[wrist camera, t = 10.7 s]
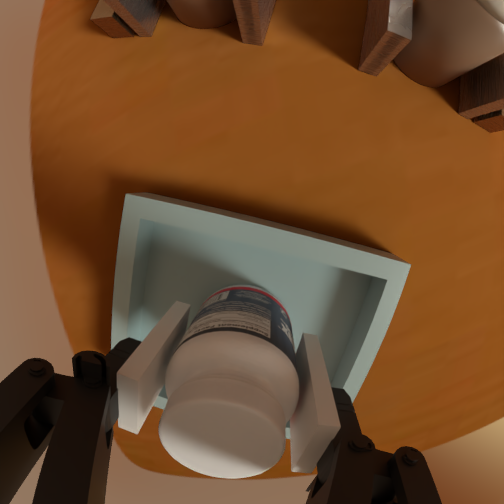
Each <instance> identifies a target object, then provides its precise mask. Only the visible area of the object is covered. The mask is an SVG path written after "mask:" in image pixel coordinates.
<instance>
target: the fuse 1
mask: <svg viewBox="0 0 504 504" xmlns="http://www.w3.org/2000/svg"><path fill="white" fill-rule="evenodd" d="M167 2H168V3H169V5H170V7H171V8H172V10H173V11H174V13H175V15H176V16H177V18H178V19H179V20H180V21H181V22H182V23H183V24H185V25H187V26H190V27H193V28H199V29H209V28H216V27H220V26H223V25H226V24H228V23H230V22H232V21H234V20H235V19H237V16H236V12H235V8H234V4H233V0H167Z"/></svg>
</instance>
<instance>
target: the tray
mask: <svg viewBox="0 0 504 504" xmlns="http://www.w3.org/2000/svg"><path fill="white" fill-rule="evenodd" d="M410 266H411V264H409V263H407V262H406V261H404V260H402V259H401V258H399V257H397V256H396V255H394V254H392V253H388V252H385V251H381V250H378V249H374V248H371V247H367V246H364V245H360V244H357V243H353V242H349V241H346V240H342V239H338V238H335V237H331V236H327V235H323V234H320V233H316V232H312V231H308V230H304V229H300V228H297V227H293V226H289V225H285V224H281V223H277V222H273V221H269V220H265V219H261V218H257V217H253V216H249V215H245V214H240V213H236V212H232V211H228V210H224V209H219V208H215V207H211V206H206V205H202V204H198V203H193V202H189V201H184V200H180V199H175V198H171V197H166V196H161V195H157V194H152V193H147V192H143V193H127V194H126V196H125V201H124V207H123V213H122V220H121V227H120V234H119V242H118V250H117V259H116V268H115V279H114V292H113V307H112V330H111V350H112V349H113V348H114V346H115V345H116V344H117V343H118V342H119V341H121V340H123V339H126V338H128V337H130V338H133V339H136V340H139V341H143V340H144V339H145V338H146V336H147V335H148V334H149V333H150V332H151V330H152V329H153V328H154V327H155V326H156V324H157V323H158V322H159V321H160V320H161V318H162V317H163V316H164V315H165V314H166V312H167V311H168V310H169V309H170V308H171V306H172V305H173V304H174V303H175V302H176V301H179V302H183V303H186V304H190V305H191V307H190V312H189V318H188V324H187V330H188V328H189V326H190V324H191V323H192V321H193V319H194V317H195V316H196V314H197V312H198V311H199V309H200V307H201V306H202V304H203V303H204V302H205V301H206V299H207V298H208V297H209V296H211V295H212V294H213V293H215V292H216V291H218V290H220V289H222V288H225V287H228V286H233V285H251V286H256V287H259V288H262V289H264V290H266V291H268V292H270V293H271V294H273V295H274V296H275V297H276V298H278V299H279V301H280V302H281V303H282V304H283V305H284V307H285V308H286V310H287V312H288V314H289V317H290V321H291V325H292V333H293V339H294V345H295V354H296V351H297V349H298V346H299V343H300V340H301V337H302V334H303V333H308V334H313V335H318V339H319V343H320V346H321V350H322V354H323V358H324V361H325V365H326V369H327V373H328V377H329V381H330V385H331V387H334V388H341V389H344V390H345V391H346V392H347V393H348V395H349V396H350V397H351V401H352V403H353V401H354V399H355V397H356V395H357V393H358V391H359V389H360V387H361V385H362V383H363V381H364V379H365V377H366V375H367V373H368V371H369V369H370V367H371V365H372V363H373V361H374V359H375V356H376V354H377V352H378V350H379V347H380V345H381V343H382V341H383V338H384V336H385V334H386V331H387V329H388V326H389V324H390V321H391V319H392V316H393V314H394V311H395V309H396V306H397V303H398V301H399V298H400V295H401V293H402V290H403V287H404V284H405V281H406V278H407V275H408V272H409V269H410ZM187 330H186V331H187ZM167 401H168V397H167V394H166V389H165V384H164V386H163V388H162V390H161V391H160V393H159V395H158V397H157V399H156V401H155V403H154V404H153V406H155V407H158V408H161V409H165V407H166V404H167ZM285 430H286V438H287V439H291V438H290V420H289V421H288V422H287V423H286V429H285Z"/></svg>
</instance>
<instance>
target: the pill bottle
mask: <svg viewBox="0 0 504 504" xmlns="http://www.w3.org/2000/svg"><path fill="white" fill-rule="evenodd" d="M165 389H166V394H167V397H168V401H167V404H166V407H165V409H164V411H163V414H162V416H161V419H160V422H159V437H160V440H161V442H162V444H163V446H164V448H165V449H166V450H167V452H168V453H169V454H170V455H171V456H172V457H173V458H174V459H176V460H177V461H178V462H179V463H181V464H182V465H184V466H186V467H188V468H190V469H192V470H194V471H196V472H199V473H202V474H205V475H209V476H213V477H219V478H245V477H250V476H254V475H258V474H260V473H263V472H265V471H267V470H268V469H270V468H271V467H273V466H274V465H275V464H276V463H277V462H278V461H279V460H280V458H281V457H282V455H283V453H284V450H285V442H286V430H285V429H286V423H287V422H288V421H289V420H290V418H291V417H292V415H293V413H294V412H295V409H296V407H297V404H298V400H299V378H298V370H297V362H296V354H295V345H294V339H293V333H292V325H291V321H290V317H289V314H288V312H287V310H286V308H285V307H284V305H283V304H282V303H281V302H280V301H279V299H278V298H276V297H275V296H274V295H273V294H271V293H270V292H268V291H266V290H264V289H262V288H259V287H256V286H251V285H233V286H228V287H225V288H222V289H220V290H218V291H216V292H215V293H213V294H212V295H211V296H209V297H208V298H207V299H206V301H205V302H204V303H203V304H202V306H201V307H200V309H199V311H198V312H197V314H196V316H195V317H194V319H193V321H192V323H191V324H190V326H189V328H188V330H187V331H186V333H185V335H184V336H183V338H182V340H181V342H180V343H179V345H178V347H177V349H176V350H175V352H174V354H173V355H172V358H171V360H170V362H169V364H168V367H167V370H166V375H165Z"/></svg>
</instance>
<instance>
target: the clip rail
mask: <svg viewBox="0 0 504 504" xmlns="http://www.w3.org/2000/svg"><path fill="white" fill-rule="evenodd" d="M166 1H167V0H99V2H98V4H97V6H96V8H95V10H94V12H93V14H92V16H91V18H90V20H91V21H92V22H94V23H95V24H96V25H97V26H99V27H100V28H101V29H102V30H104V31H105V32H106V33H107V34H109V35H110V36H111V37H112V38H121V37H133V36H134V34H135V32H136V33H137V34H138V35H139V36H140V37H151V36H152V33H153V31H154V28H155V26H156V24H157V21H158V19H159V17H160V14H161V12H162V10H163V8H164V5H165V3H166ZM275 2H276V0H233V4H234V8H235V12H236V16H237V20H238V24H239V28H240V32H241V37H242V41H243V43H248V44H254V45H260V46H262V45H263V42H264V39H265V35H266V32H267V29H268V25H269V22H270V19H271V15H272V12H273V9H274V6H275ZM412 16H413V0H368V8H367V16H366V23H365V30H364V37H363V43H362V50H361V56H360V62H359V68H358V70H359V71H362V72H365V73H368V74H371V75H374V76H376V77H377V75H378V74H379V73H380V72H381V71H382V70H383V69H384V68H385V67H386V66H387V65H388V64H389V63H390V62H391V61H392V60H393V59H394V58H395V57H396V56H397V54H398V53H399V52H400V51H401V50H402V49H403V48H404V47H405V46H406V45H407V44H408V43H409V42H410V41H411V38H412ZM458 114H460V115H461V116H463V117H465V118H467V119H470V118H473V117H474V121H473V122H474V123H475V124H477V125H479V126H480V127H482V128H484V129H485V130H487V131H488V132H490V133H492V132H497V131H502V130H504V53H503V54H501V55H499V56H497V57H495V58H493V59H491V60H489V61H487V62H485V63H483V64H481V65H479V66H478V67H476V68H474V69H472V70H470V71H468V72H466V73H465V74H463V75H461V76H460V97H459V111H458Z"/></svg>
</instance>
